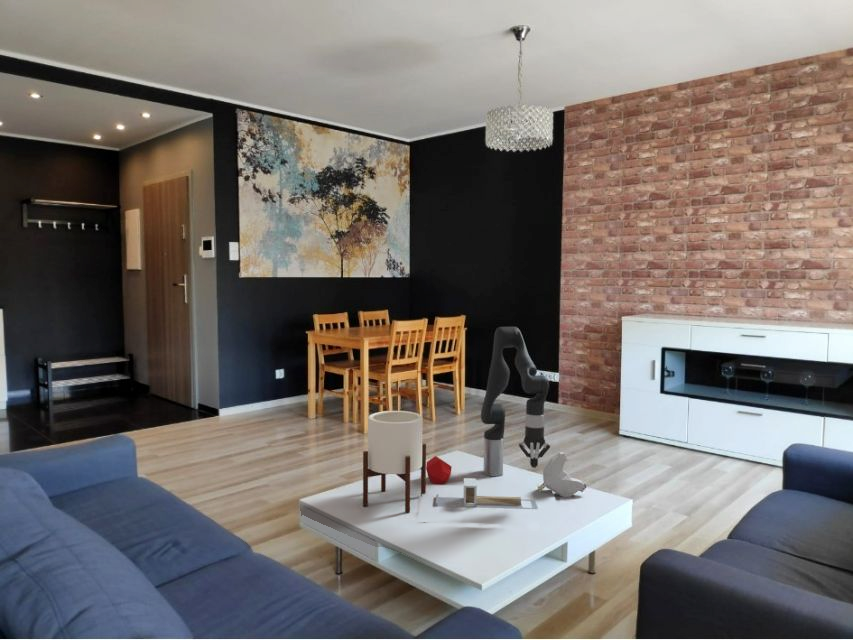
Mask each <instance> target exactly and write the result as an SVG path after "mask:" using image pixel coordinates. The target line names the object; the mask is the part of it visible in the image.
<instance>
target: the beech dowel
mask: <svg viewBox="0 0 853 640" xmlns="http://www.w3.org/2000/svg"><path fill="white" fill-rule="evenodd" d="M521 499H522V498H521V496H495V495H476V504H504V505H521V504H522V500H521Z"/></svg>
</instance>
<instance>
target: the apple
mask: <svg viewBox="0 0 853 640" xmlns="http://www.w3.org/2000/svg"><path fill="white" fill-rule="evenodd" d="M451 474H452V465H450V464H449V463H448V462H446V461H444V460H443V459H442V458H440V457H438V456H436V455H435V456H433V457H431V458H430V459H429V460H428V461H427V460H426V475H427V477H428V480H429V482H430V483H432V484H434V485H435V486H437V485H439V486H440V485H447V483H448V481H449V479H450V477H451Z"/></svg>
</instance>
